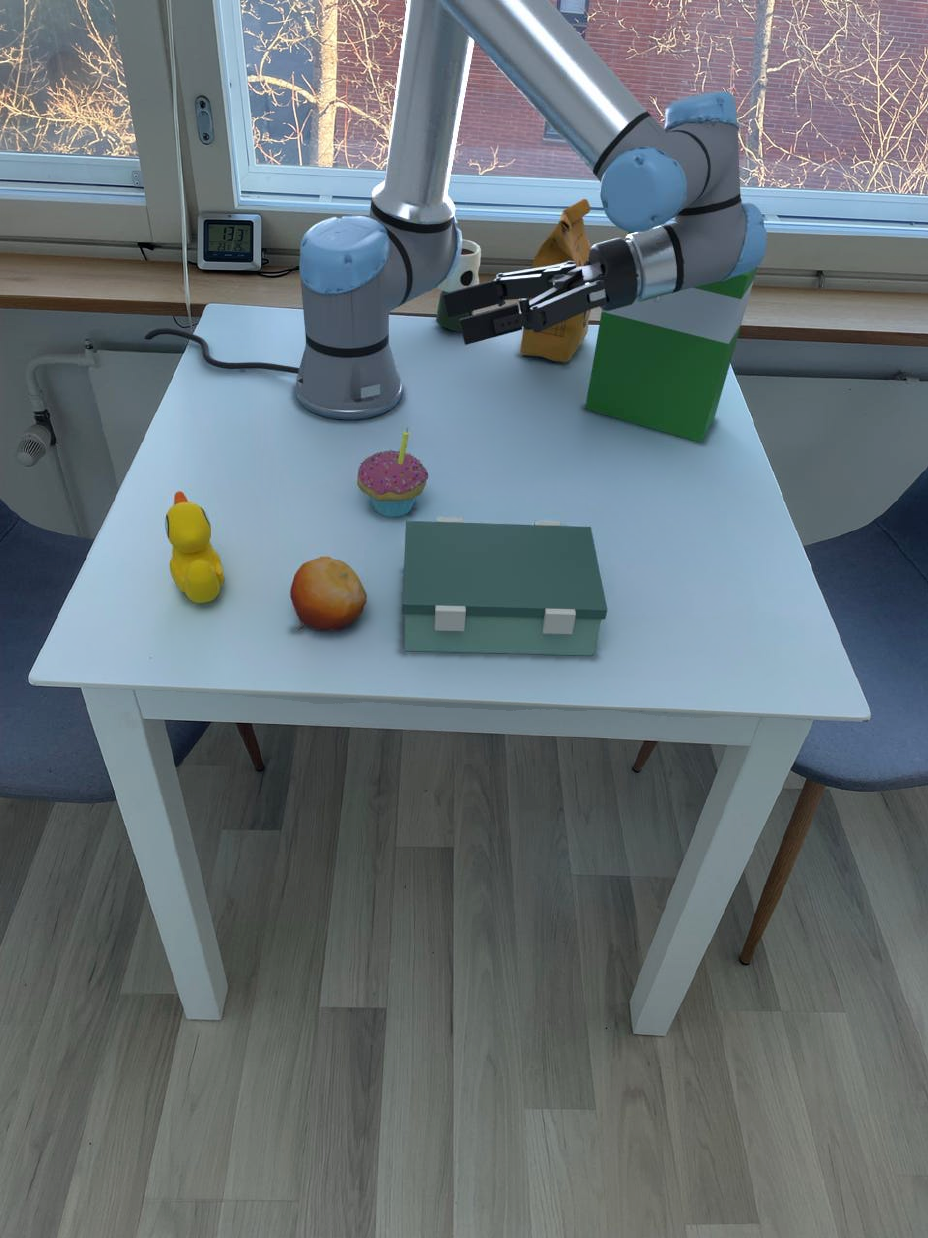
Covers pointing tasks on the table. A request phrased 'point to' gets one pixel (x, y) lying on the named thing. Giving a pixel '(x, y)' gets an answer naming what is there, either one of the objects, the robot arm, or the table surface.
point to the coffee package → (556, 249)
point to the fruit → (327, 594)
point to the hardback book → (669, 357)
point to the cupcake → (392, 480)
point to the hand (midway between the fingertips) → (452, 318)
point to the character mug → (460, 282)
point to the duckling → (193, 551)
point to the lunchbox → (501, 588)
